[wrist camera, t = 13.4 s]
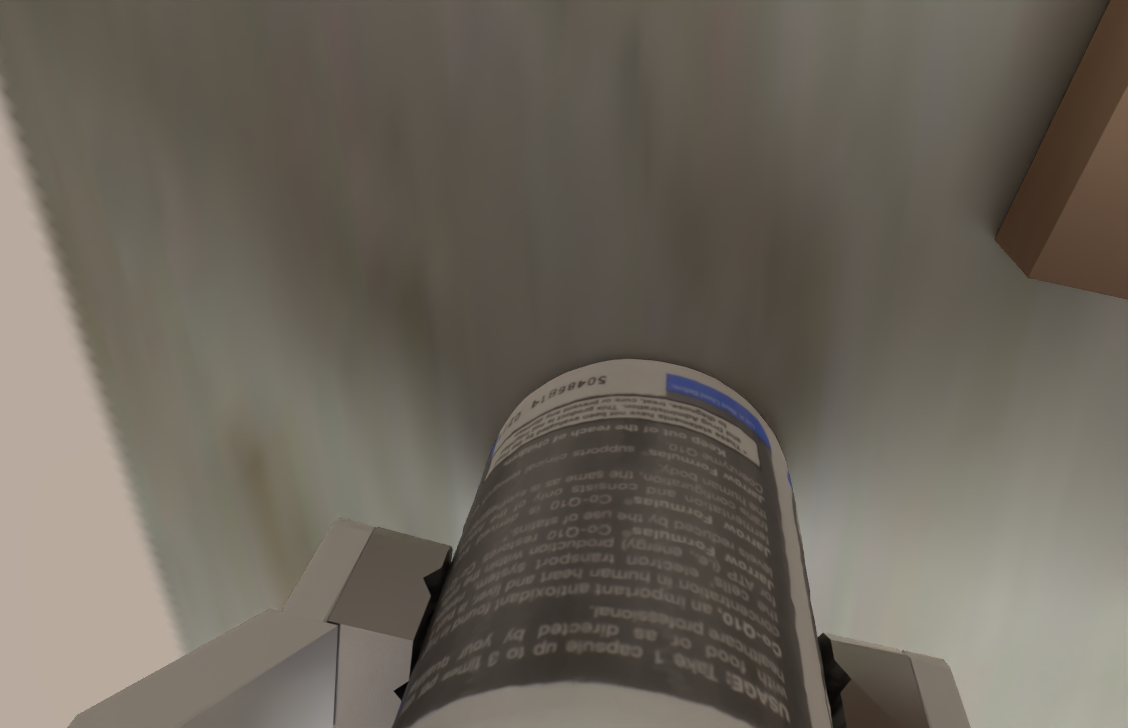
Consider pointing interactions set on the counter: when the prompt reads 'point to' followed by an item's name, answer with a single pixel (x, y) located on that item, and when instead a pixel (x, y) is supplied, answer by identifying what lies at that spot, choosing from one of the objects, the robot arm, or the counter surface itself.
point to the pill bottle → (626, 568)
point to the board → (1080, 176)
